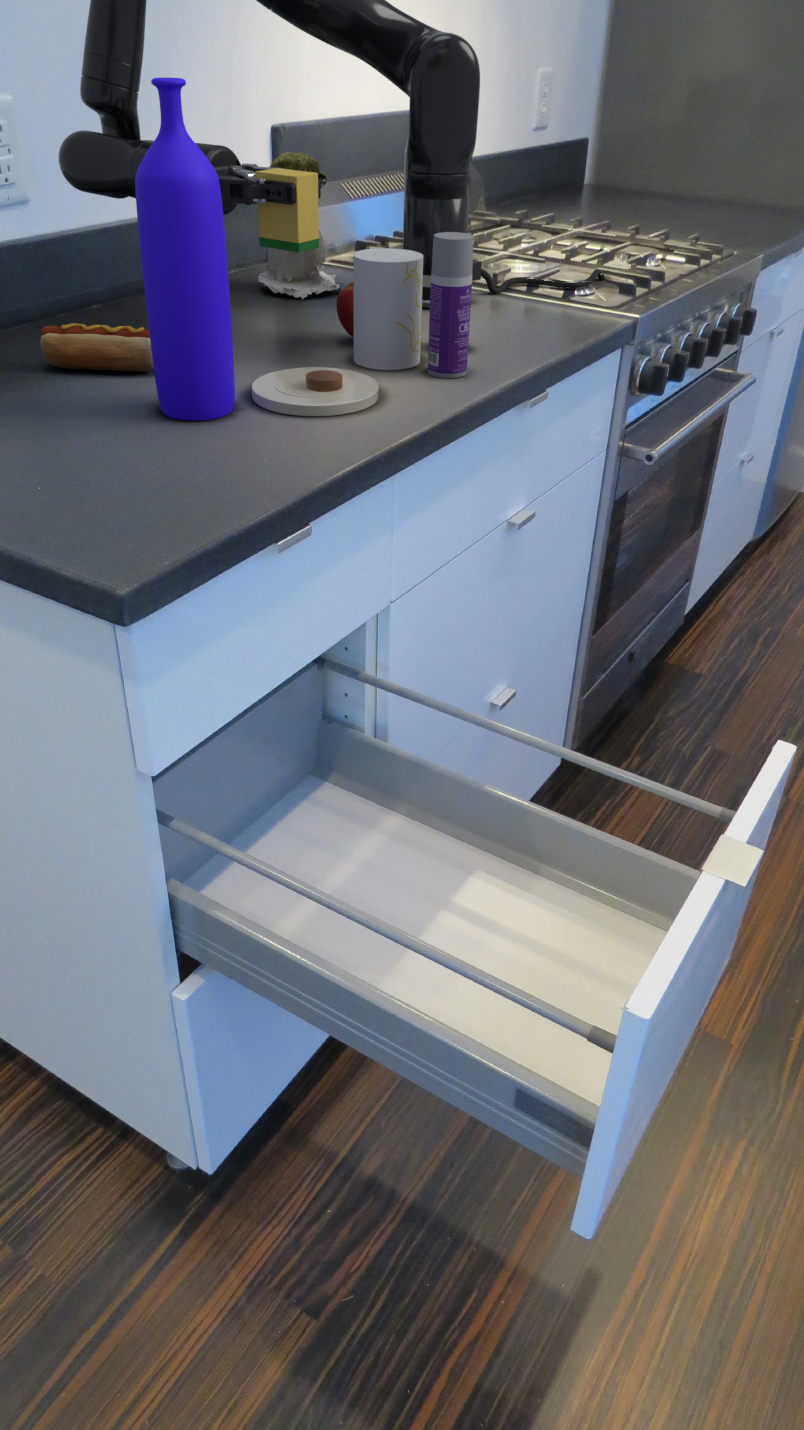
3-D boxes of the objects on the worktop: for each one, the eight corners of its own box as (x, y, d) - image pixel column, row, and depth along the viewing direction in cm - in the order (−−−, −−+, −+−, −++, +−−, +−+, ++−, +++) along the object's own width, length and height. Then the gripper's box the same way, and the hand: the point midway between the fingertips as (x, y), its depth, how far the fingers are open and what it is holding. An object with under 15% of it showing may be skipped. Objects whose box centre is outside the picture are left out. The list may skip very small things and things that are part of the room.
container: (463, 379, 120) (471, 240, 112) (424, 376, 121) (429, 238, 113) (469, 368, 124) (477, 233, 116) (431, 365, 125) (436, 230, 117)
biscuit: (329, 378, 115) (329, 367, 115) (349, 387, 113) (349, 376, 112) (299, 384, 113) (298, 373, 113) (319, 394, 111) (318, 382, 110)
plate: (332, 370, 122) (332, 360, 122) (404, 401, 113) (404, 390, 113) (228, 390, 115) (228, 379, 115) (296, 425, 106) (295, 413, 105)
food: (170, 364, 123) (165, 321, 120) (157, 378, 118) (152, 333, 115) (55, 359, 123) (48, 316, 121) (38, 373, 119) (30, 328, 116)
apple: (356, 331, 137) (356, 267, 133) (410, 340, 134) (411, 274, 130) (326, 344, 132) (325, 277, 127) (381, 353, 129) (382, 285, 124)
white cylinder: (414, 372, 123) (417, 264, 116) (347, 367, 124) (347, 260, 117) (424, 353, 129) (427, 250, 122) (360, 349, 130) (360, 246, 123)
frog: (262, 299, 151) (255, 158, 141) (256, 280, 161) (248, 147, 151) (343, 298, 153) (341, 158, 142) (331, 278, 163) (329, 147, 153)
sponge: (280, 241, 126) (277, 168, 122) (319, 247, 124) (317, 172, 119) (259, 246, 124) (255, 171, 119) (298, 252, 121) (296, 176, 116)
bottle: (253, 409, 110) (234, 79, 93) (191, 427, 105) (159, 82, 88) (203, 392, 114) (176, 74, 97) (141, 409, 109) (102, 76, 92)
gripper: (150, 147, 119) (265, 160, 112) (231, 138, 129) (342, 150, 122) (157, 218, 124) (269, 235, 116) (235, 204, 134) (343, 219, 126)
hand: (306, 191), depth 119 cm, fingers closed on sponge, 4 cm apart
